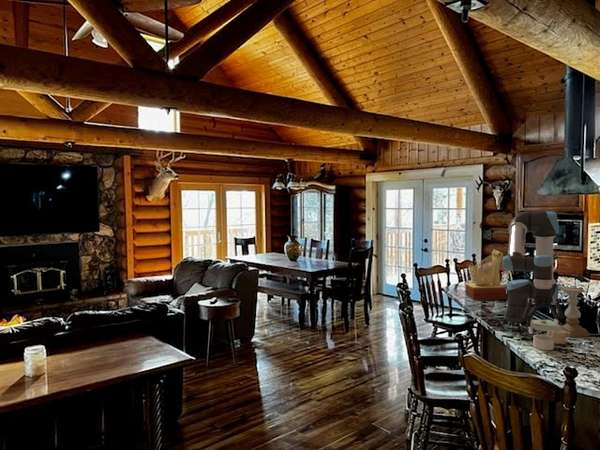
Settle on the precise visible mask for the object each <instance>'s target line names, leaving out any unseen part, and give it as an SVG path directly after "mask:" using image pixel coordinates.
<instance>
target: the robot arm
mask: <svg viewBox="0 0 600 450" xmlns="http://www.w3.org/2000/svg"><path fill="white" fill-rule="evenodd" d="M507 231H508V232H509V237H508V238H509V239H508V240H509V241H508V248H507V249H508V250H507V255H506V256H504V255H503V258H502V263H501V264H502V269H503V271H508V272H525V273H526V272H527V273H534V275H533V277H534V279H533V282H530V280H529V279H515V280H510V281H509V282H507V287H506V291H507V306H506V310H505V312H504V319H505V320H506V321H508V322H516V323H526V326H527V327H528V333H529V334H531V335H532V334H533V333H534V332H533V329H534V328H533V320H534V316H535V314H536V313H537V311H538V310H539V309H540V308H548V309H549V311H550V312H551V314H552V315H553V317H554V318H553V322H555V323H557V324H558V325H560V326H561V321H562V320H563V319H566V318H565V317H566V316H565V313H564V312H563V310H562V307H561V304H560V299H559V293H560V284H558V283H557V280H556V279H555V278H554V238H555V237H556V236H557V233H559V232H560V227H559V219H558V215H557V213H556V212H555V211H548V210H546V211H545V210H543V211H542V210H541V211H540V210H539V211H524V212H520V213H518V214H516V215H515V216H514V217H513V218H512V219H511V221H510V222H509V224H508V230H507ZM527 233H532V236H533V237H534V238H535V256H524V254H525V242H526V241H525V239H526V234H527ZM532 304H533V305H532ZM553 305H554V306H555V308H556V309H555V308H554V307H553ZM554 333H556V334H558V330H554ZM533 335H534V334H533Z"/></svg>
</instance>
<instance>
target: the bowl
mask: <svg viewBox="0 0 600 450" xmlns="http://www.w3.org/2000/svg"><path fill="white" fill-rule="evenodd" d="M532 338H533V339H532V340H533V341H532V343H533V345H532V346H533V348H535V349H536V348H537V349H536V350H541V351H554V347H555V344H554V338H553V337H551V336H548V335H547V334H533V336H532Z"/></svg>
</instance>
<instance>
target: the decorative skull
mask: <svg viewBox="0 0 600 450" xmlns="http://www.w3.org/2000/svg"><path fill="white" fill-rule="evenodd" d="M489 263H490V264H491V263H492V262H489ZM489 263H488V262H487V263H484V264H488V265H485V266H484V264H483V263H482V264H483V265H482V264H481V265H482V266H484V267H486V268H487V273H489V272H488V269H489V265H490V264H489ZM482 266H481V268H480V270H482V268H483V267H482ZM487 266H488V267H487ZM490 268H491V269H492V267H490ZM500 268H501V267H499V274H500V284H501V283H502V279H503V273H502V270H501V269H500ZM491 269H490V270H491ZM483 270H484V268H483ZM483 270H482V271H483ZM490 270H489V271H490ZM480 272H481V271H480ZM485 273H486V270H485ZM486 275H487V274H486ZM488 275H489V274H488ZM491 276H492V275H491Z"/></svg>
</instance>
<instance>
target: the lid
mask: <svg viewBox="0 0 600 450" xmlns="http://www.w3.org/2000/svg"><path fill="white" fill-rule="evenodd" d="M561 326H562V325H561V324H560V325H558V324H557V323H555V322H554V320H551V319H533V329H534V330H535V331H547V330H561Z"/></svg>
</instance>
